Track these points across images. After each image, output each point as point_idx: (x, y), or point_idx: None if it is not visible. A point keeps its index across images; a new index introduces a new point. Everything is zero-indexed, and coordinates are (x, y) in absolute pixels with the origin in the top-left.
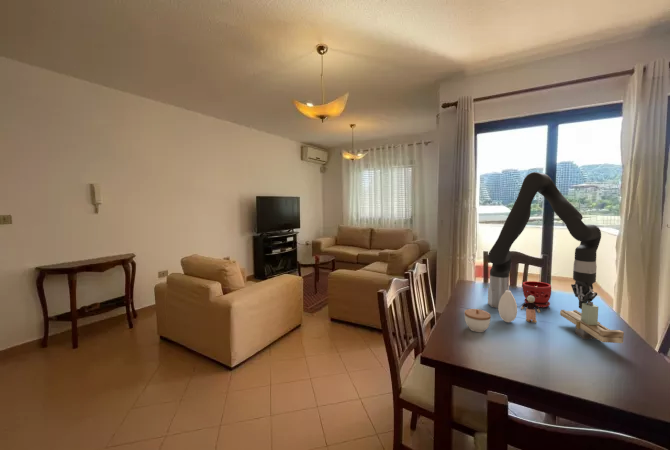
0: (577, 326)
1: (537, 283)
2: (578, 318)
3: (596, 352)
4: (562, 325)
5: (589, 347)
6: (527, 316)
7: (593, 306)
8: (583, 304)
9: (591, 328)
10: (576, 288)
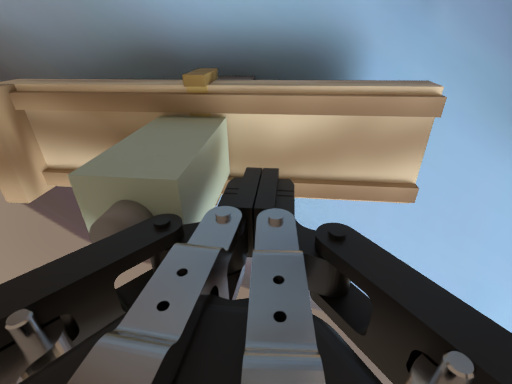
0: (203, 70)
1: None
2: (276, 130)
3: (45, 42)
4: (364, 66)
5: (91, 41)
6: None
7: (84, 217)
8: (155, 174)
9: (84, 92)
10: (419, 360)
